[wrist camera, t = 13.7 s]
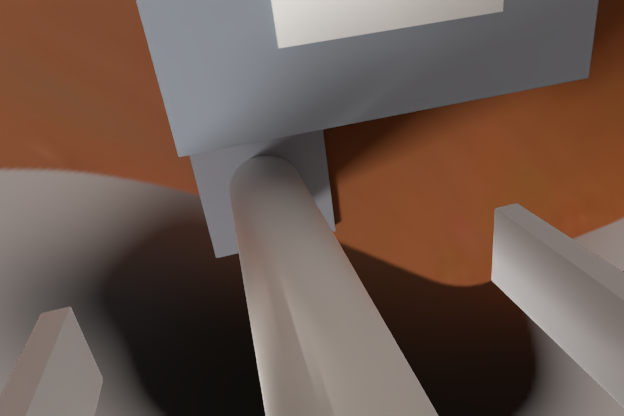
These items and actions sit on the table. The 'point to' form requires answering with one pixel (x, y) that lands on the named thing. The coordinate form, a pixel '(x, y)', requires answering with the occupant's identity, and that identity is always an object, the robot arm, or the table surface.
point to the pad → (224, 162)
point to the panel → (349, 60)
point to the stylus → (312, 307)
